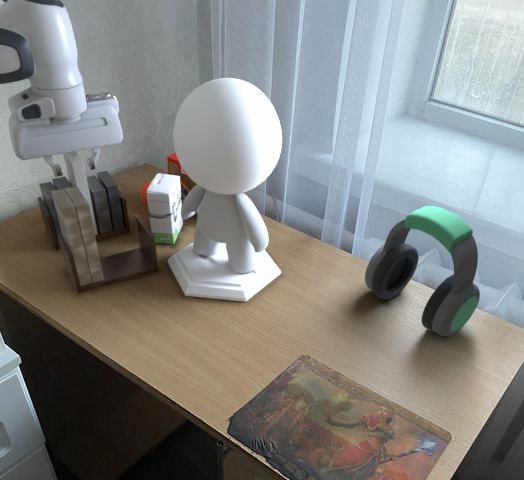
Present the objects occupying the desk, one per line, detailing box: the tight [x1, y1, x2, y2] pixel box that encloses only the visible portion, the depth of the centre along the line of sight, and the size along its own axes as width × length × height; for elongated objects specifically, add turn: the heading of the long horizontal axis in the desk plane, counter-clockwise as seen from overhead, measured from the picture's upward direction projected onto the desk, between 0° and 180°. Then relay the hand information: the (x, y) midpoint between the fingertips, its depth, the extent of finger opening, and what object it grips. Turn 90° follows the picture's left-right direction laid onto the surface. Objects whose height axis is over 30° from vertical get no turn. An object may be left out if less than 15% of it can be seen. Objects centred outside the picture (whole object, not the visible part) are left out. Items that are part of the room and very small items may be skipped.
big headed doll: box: [167, 77, 283, 303], centre depth 95 cm, size 20×23×35 cm
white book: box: [62, 151, 98, 235], centre depth 109 cm, size 2×7×16 cm, turn 30°
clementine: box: [140, 177, 155, 209], centre depth 121 cm, size 8×7×7 cm
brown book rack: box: [51, 186, 159, 294], centre depth 100 cm, size 16×8×17 cm, turn 120°
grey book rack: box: [36, 170, 131, 251], centre depth 111 cm, size 16×8×12 cm, turn 120°
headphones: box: [364, 205, 481, 337], centre depth 93 cm, size 19×11×20 cm, turn 40°
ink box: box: [146, 172, 184, 245], centre depth 112 cm, size 9×5×12 cm, turn 173°
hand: (76, 171), depth 106 cm, fingers open, 5 cm apart
